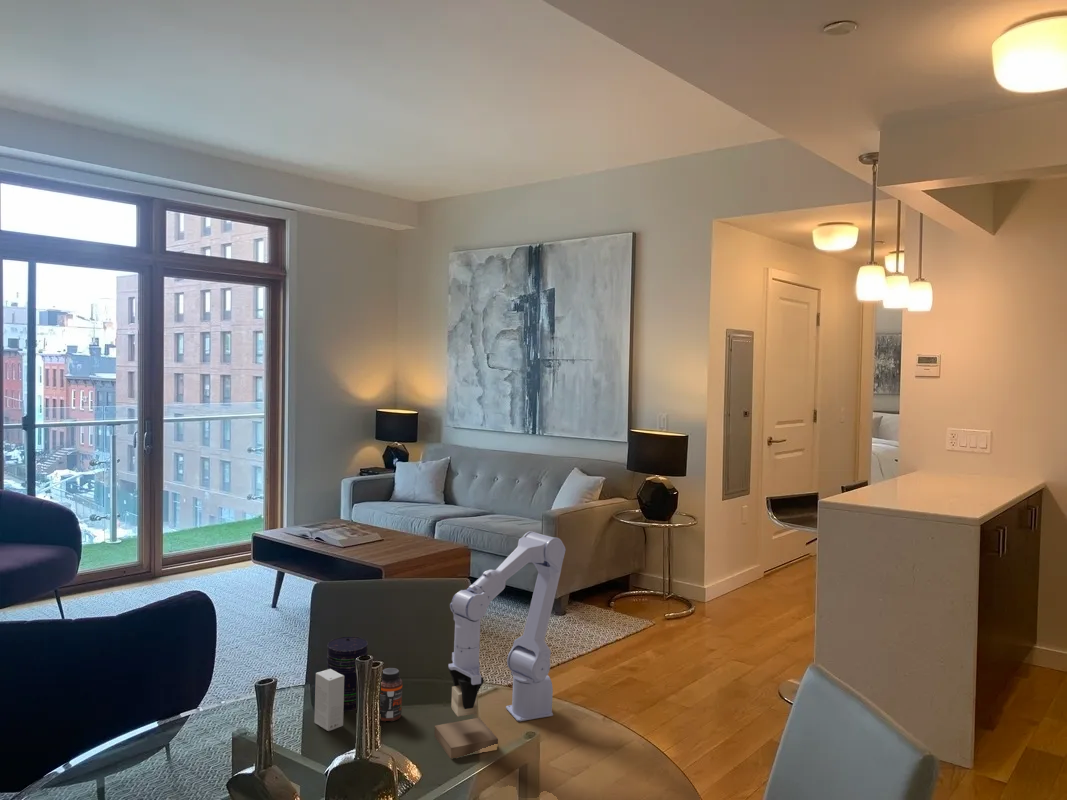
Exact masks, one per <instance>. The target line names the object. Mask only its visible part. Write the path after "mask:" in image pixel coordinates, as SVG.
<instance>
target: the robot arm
mask: <svg viewBox="0 0 1067 800" xmlns="http://www.w3.org/2000/svg"><path fill="white" fill-rule="evenodd" d="M565 553H566V547H565V544H564V542H563V541H562V539H561V538H559V537H556V536H555V537H553V536H550V535H546V534H541V533H538V532H537V531H532V530H529V531H527V532H525V534H523V536H522V537H520V538H519V539H518V542H517V547H516V548H514V550H513V551H512V552H511V553H510V554H509V555H507V557H506V558H505V559H504V560H503V561H502V563H500V564H499V566H498V567H496V569H488V570H485V571H484V572H483V573H482V574H481V575H480V577H479V578H478V579H476V580H475V581H474V582H473V583H472V584H470V585H469V586H468V588H466V589H460V590H459V591H458V592H456V593H455V594H454V595H453V596H452V599H451V602H450V603H449V608H450V611H451V612H452V615H453V621H454V641H453V652H451V661H452V663H448V671H449V674H450V676H451V678H452V682H453V683H452V684H453V686H460V687H461V692H462V701H463V707H464V709H469V708H473V706H474V703H475V700H476V696H477V697H478V692H479V691H480V689H481V687H482V685H483V684H484V680H485V679H484V678H483V677H482V674H481V673H480V672H481V671H480V669H481V667H480V666H481V665H480V643H481V642H480V641H481V640H480V639H481V619H482V618H484V616H485V615H486V613H487V610H488V607H489V606H490V604H491V602H492V601H493V600H494V599H495V598H496V597H497V596H498V595H499V594H500V593H502V592H503V591H504V589H505V588H506V582H507V580H509V579H510V578H511V577H512V576H514V575H515V574H516V573H518V572H519V571H520V570H521V569H522V568H524V567H525V566H526V565H527V564H530V563H531V564H533V565H534V567H535V569H536V570H537V576H536V580H535V585H534V589H533V593H532V598H531V600H530V605H529V609H528V613H527V617H526V621H525V626H524V630H523V632H522V633H523V634H522V635H521V636H519V637H517V638H516V639H515V640H513V645H512V647H511V649H510V651H509V652H508V655H507V659H506V664H507V668H508V669H509V670H510V673H511V674H510V675H511V676H512V700H511V701H512V702H511V704H509V705H506V706H505V709H506V710H507V711H508V713H510V714H511V716H513V718H514V719H515V721H517V722H525V721H530V720H536V719H542V718H547V717H553V716H554V713H553V710H552V709H553V691H554V689H553V687H554V686H553V682H552V680H551V677H550V676H549V673H550V669H551V661H550V660H551V654H552V651H551V649H550V647H549V646H548V644H547V642H546V636H547V635H546V634H547V631H548V626H549V623H550V619H551V614H552V611H553V606H554V602H555V598H556V593H557V589H558V585H559V582H560V577H561V573H562V567H563V563H564V559H565Z"/></svg>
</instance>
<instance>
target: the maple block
mask: <svg viewBox="0 0 1067 800" xmlns="http://www.w3.org/2000/svg"><path fill="white" fill-rule="evenodd" d="M450 705H451V708H450V709H452V711H453V712H454V714H455V715H456V717H463V716H470V715H476V714H477V710H478V709H477V708H478V695H477V696H476V700H475V703H474V706H473V708H469V709H464V707H463V701H462V692H461V687H460V686H454V685H453V686H451V704H450Z"/></svg>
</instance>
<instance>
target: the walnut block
mask: <svg viewBox="0 0 1067 800" xmlns="http://www.w3.org/2000/svg"><path fill="white" fill-rule="evenodd" d="M433 736H434V739H436V741H437V743H439V745H440V747H442V749H443V750H444V752H445V753H446V756H448V757H449V759H450V758H451V759H450V760H453V759H452V758H456V759H458V758H457V757H460V756H464V755H467V754H470V753H473V752H475V751H478V750H480V749H482V748H486V747H488V746H491V745H494V744H498V745H499V738H498V737H497V735H495V733H494V732H493V731H492V730H491V729H490V727H488V726H487V725H486V723H485V722H484V721H483V720H482V719H481V717H475V718H470V719H464V720H457V721H454V722H447V723H442V724H437V725H436V724H435V725H434V735H433Z"/></svg>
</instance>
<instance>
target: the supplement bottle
mask: <svg viewBox="0 0 1067 800" xmlns="http://www.w3.org/2000/svg"><path fill="white" fill-rule="evenodd" d="M382 671H383V675H382V674H381V678H382V682H381V694H380V714H381V720H380V721H382V722H386V721H391V722H395V721H397V720H399V719H401V718H402V710H403V709H402V708H403V705H402V703H403V680H402V679H401V678H400V670H399V669H398V668H395V667H388V668H386V667H385V668H384V669H382Z"/></svg>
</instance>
